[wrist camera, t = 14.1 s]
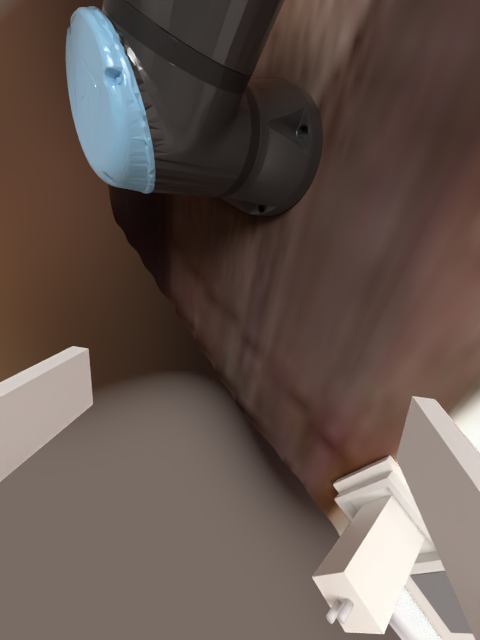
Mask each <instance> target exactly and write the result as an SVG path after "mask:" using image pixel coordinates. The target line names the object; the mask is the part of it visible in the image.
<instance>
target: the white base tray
mask: <svg viewBox="0 0 480 640" xmlns="http://www.w3.org/2000/svg"><path fill="white" fill-rule="evenodd" d="M333 486H334V487H335V489H336V490H337V491H338V493H339V494H338V495H337V496H336V497H335V499H334V500H335V501H336V503H337V504H338V506H339V507H340V508H341V510H342V511H343V513H344V514H345V516H346V517H347V518H348V520H349V521H350V522H351V521H352V520H353V518H354V517H355V515H356V514H357V513H358V511H359V510H360V508H361V507H362V505H363V504H366V503H369V502H372V501H375V500H378V499H380V498H383V497H386V496H389V495H392V494H393V496H394V497H395V498H396V500H397V501H398V502H399V503H400V505H401V506H402V507H403V509H404V510H405V511H406V513H407V514H408V515H409V516H410V518H411V519H412V520H413V522H414V523H415V524H416V525H417V527H418V528H419V529H420V531H421V532H422V533H423V534H424V536H425V540H424V542H423V544H422V547H421V549H420V551H419V553H418V556H417V558H416V560H415V563H414V565H413V567H412V570H411V572H410V574H409V577H408V579H407V581H406V584H405V587H406V589H407V590H408V591H409V593H410V594H411V596H412V597H413V598H414V600H415V601H416V603H417V604H418V605H419V607H420V608H421V610H422V611H423V613H424V614H425V615H426V617H427V618H428V620H429V621H430V622H431V624H432V625H433V627H434V628H435V629H436V631H437V632H438V634H439V635H440V636H441V638H442V639H443V640H475V638H474V636H473V633H472V631H471V629H470V626H469V624H468V622H467V620H466V617H465V615H464V613H463V610H462V608H461V606H460V604H459V601H458V599H457V597H456V594H455V592H454V590H453V587H452V585H451V583H450V581H449V578H448V576H447V574H446V571H445V569H444V567H443V565H442V562H441V560H440V558H439V555H438V553H437V551H436V549H435V546H434V544H433V542H432V539H431V537H430V535H429V532H428V530H427V528H426V526H425V523H424V521H423V519H422V516H421V514H420V512H419V510H418V507H417V505H416V503H415V500H414V498H413V496H412V494H411V491H410V489H409V487H408V484H407V482H406V480H405V478H404V475H403V473H402V471H401V468H400V467H399V466H398V464H397V463H396V462H395V461H394V459H393V458H392V457H391V456H390V455H389V456H387V457H385V458H383V459H381V460H378V461H376V462H374V463H372V464H370V465H368V466H366V467H363V468H361V469H359V470H357V471H355V472H353V473H350V474H348V475H346V476H344V477H342V478H340V479H338V480H336V481H335V483H334V484H333Z"/></svg>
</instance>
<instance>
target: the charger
mask: <svg viewBox="0 0 480 640" xmlns="http://www.w3.org/2000/svg"><path fill="white" fill-rule="evenodd" d="M424 540H425V536H424V534H423V533H422V532H421V531H420V529H419V528H418V527H417V525H416V524H415V523H414V522H413V520H412V519H411V518H410V516H409V515H408V514H407V513H406V511H405V510H404V509H403V507H402V506H401V505H400V503H399V502H398V501H397V500H396V498H395V497H394V496H393V494H392V495H389V496H386V497H383V498H380V499H378V500H375V501H372V502H369V503H366V504H363V505H362V507H361V508H360V510H359V511H358V513H357V514H356V515H355V517H354V518H353V520H352V521H351V522H350V524H349V525H348V527H347V528H346V529H345V531H344V532H343V534H342V535H341V536H340V538H339V539H338V541H337V542H336V544H335V545H334V546H333V548H332V549H331V551H330V552H329V554H328V555H327V556H326V558H325V559H324V560H323V562H322V563H321V565H320V566H319V568H318V569H317V570H316V572H315V573H314V575H313V576H312V578H313V580H314V581H315V583H316V585H317V586H318V588H319V590H320V591H321V593H322V595H323V596H324V598H325V599H326V601H327V603H328V604H329V606H330V608H331V609H330V610H329V612H328V614H327V615H326V619H327V620H328V622H329V623H331V624H333V622H334V621H335V619H336V617H337V619H338V621H339V622H340V624H341V626H342V627H343V629H344V631H345V632H352V633H374V634H384V632H385V630H386V628H387V625H388V623H389V621H390V618H391V616H392V614H393V611H394V609H395V607H396V605H397V602H398V600H399V598H400V595H401V593H402V591H403V588H404V586H405V584H406V581H407V579H408V577H409V574H410V572H411V570H412V567H413V565H414V563H415V560H416V558H417V556H418V553H419V551H420V549H421V547H422V544H423V542H424Z"/></svg>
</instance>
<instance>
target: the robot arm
mask: <svg viewBox="0 0 480 640" xmlns="http://www.w3.org/2000/svg"><path fill="white" fill-rule="evenodd" d="M283 2H284V0H104V3H103V9H102V11H101V10H99V9H98V8H96V7H94V6H93V7H90V6H89V7H88V8H86V7H80V8H78V9H77V10H76V11H75V12H74V13H73V15H72V17H71V27H69V28H68V31H67V40H66V70H67V82H68V91H69V98H70V104H71V109H72V114H73V119H74V123H75V126H76V130H77V134H78V137H79V140H80V143H81V145H82V148H83V151H84V153H85V156H86V158H87V160H88V162H89V164H90V165H91V167H92V168H93V170H94V171H95V172H96V174H97V175H98V176H99V177H100V178H101V179H102V180H104V181H105V182H106V183H108V184H110V185H112V186H115V187H120V188H125V189H130V190H136V191H141V192H142V193H151V192H155V193H166V194H178V195H190V196H201V197H214V198H221V199H222V200H224V201H226V202H228V203H229V204H231V205H233V206H235V207H236V208H238V209H240V210H242V211H243V212H245V213H248V214H251V215H256V216H274V215H278V214H281V213H283V212H285V211H287V210H288V209H290V208H291V207H292V206H294V205H295V204H296V203H297V202H298V201H299V200H300V199H301V197H302V196H303V195H304V194H305V192H306V191H307V189H308V188H309V186H310V184H311V182H312V180H313V178H314V176H315V173H316V171H317V168H318V165H319V161H320V156H321V150H322V124H321V119H320V115H319V111H318V109H317V106H316V104H315V102H314V101H313V99H312V98H311V96H310V95H309V94H308V93H307V92H306V91H305V90H304V89H302V88H300V87H299V86H297V85H295V84H293V83H291V82H289V81H287V80H284V79H280V78H266V79H253V80H250V78H251V75H252V74H253V71H254V69H255V67H256V65H257V62H258V60H259V58H260V55H261V53H262V51H263V48H264V46H265V44H266V41H267V39H268V37H269V35H270V32H271V30H272V28H273V25H274V23H275V21H276V18H277V16H278V14H279V12H280V9H281V7H282V5H283ZM91 405H93V398H92V386H91V374H90V361H89V349H87V348H81V347H74V346H72V347H70V348H68V349H66V350H64V351H62V352H60V353H58V354H56V355H54V356H52V357H51V358H48V359H46V360H44V361H42V362H40V363H38V364H36V365H34V366H32V367H30V368H28V369H26V370H24V371H22V372H20V373H19V374H16V375H14V376H12V377H10V378H8V379H6V380H4V381H3V382H0V481H2V480H3V479H4V478H5V477H6V476H8V475H9V474H10V473H11V472H12V471H13V470H15V469H16V468H17V467H18V466H20V465H21V464H22V463H23V462H24V461H25V460H27V459H28V458H29V457H30V456H31V455H33V454H34V453H35V452H36V451H38V450H39V449H40V448H41V447H42V446H43V445H45V444H46V443H47V442H48V441H50V440H51V438H53V437H54V436H55V435H57V434H58V433H59V432H60V431H62V430H63V429H64V428H65V427H66V426H67V425H69V424H70V423H71V422H72V421H73V420H75V419H76V418H77V417H78V416H79V415H81V414H82V413H83V412H84V411H85V410H87V409H88V408H89V407H90V406H91ZM396 459H397V461H398V464H399V466H400V468H401V471H402V473H403V475H404V478H405V480H406V482H407V484H408V487H409V489H410V491H411V494H412V496H413V498H414V500H415V503H416V505H417V507H418V510H419V512H420V514H421V516H422V519H423V521H424V523H425V526H426V528H427V530H428V532H429V535H430V537H431V539H432V542H433V544H434V546H435V549H436V551H437V553H438V555H439V558H440V560H441V562H442V565H443V567H444V569H445V571H446V574H447V576H448V578H449V581H450V583H451V585H452V587H453V590H454V592H455V594H456V597H457V599H458V601H459V604H460V606H461V608H462V610H463V613H464V615H465V617H466V620H467V622H468V624H469V626H470V629H471V631H472V633H473V636H474V638H475V640H480V453H479V452H478V451H477V449H476V448H475V447H474V446H473V445H472V443H471V442H470V441H469V440H468V439H467V437H466V436H465V435H464V434H463V432H462V431H461V430H460V429H459V428H458V426H457V425H456V424H455V423H454V422H453V420H452V419H451V418H450V417H449V416H448V414H447V413H446V412H445V411H444V409H443V408H442V407H441V406H440V405H439V403H438V402H437V401H436V400H435V399H429V398H422V397H415V396H412V400H411V404H410V407H409V411H408V415H407V419H406V422H405V426H404V430H403V434H402V438H401V441H400V445H399V449H398V453H397V456H396Z"/></svg>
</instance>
